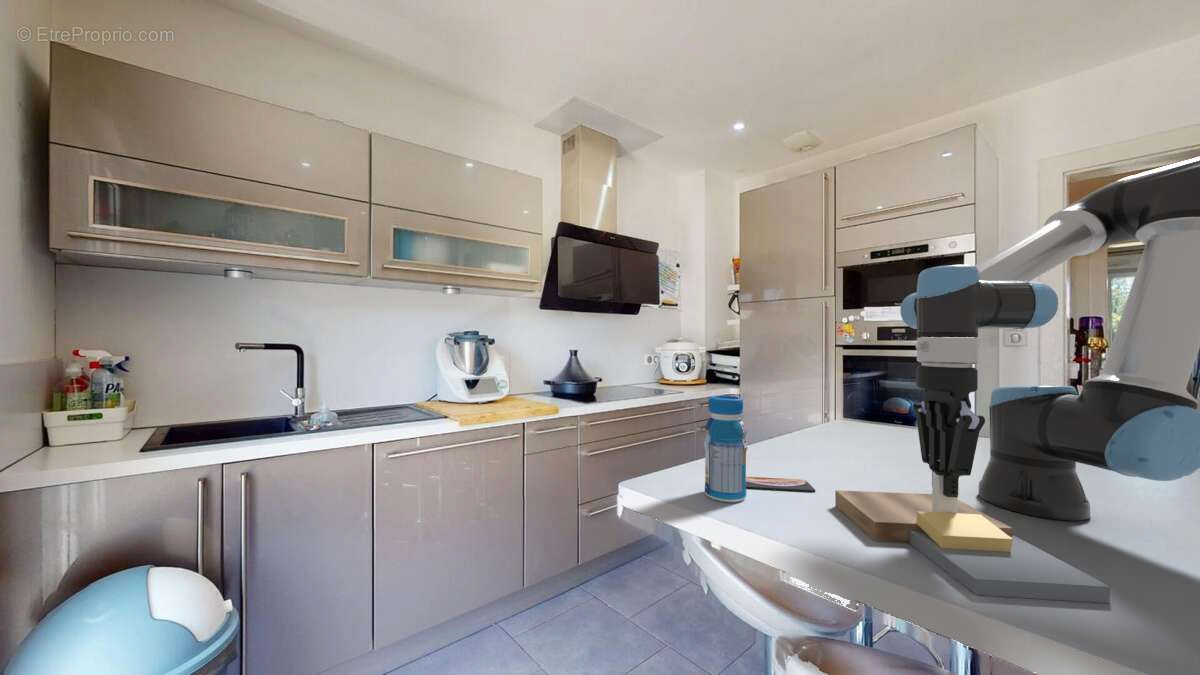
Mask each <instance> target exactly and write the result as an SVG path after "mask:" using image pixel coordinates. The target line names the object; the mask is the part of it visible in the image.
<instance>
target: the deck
mask: <svg viewBox="0 0 1200 675" xmlns="http://www.w3.org/2000/svg"><path fill="white" fill-rule="evenodd" d="M834 496H835V497H834V498H835V499H834V500H835V505H834V506H835V507H836V508H837V509H838V510H839V511H840V512H841V513H843V515H845V516H846V517H847V518H848V519H850V521H852V522H853V524H855V525H856V526H857V527H858V528H859V529H861V530H862V531H863V532H864V533H865V534H866V535H867V536H868V537H870V539H872V540H873V541H875V542H890V543H908V544H910V531H924V530H923V529H922V528H921V527H920V526H918V525H917V524H916V519H917V511H918V512H932V493H913V492H911V493H909V492H887V491H886V492H885V491H884V492H883V491H865V490H864V491H863V490H862V491H861V490H859V491H855V490H837V489H836V490H835V494H834ZM957 513H961V514H981V515H982V516H983V517H985V518H986V519H987V520H988V521H990V522H991V523H992V524H994V525H995V526H996V527H998V528H999V529H1000V530H1002V531H1003V532H1004V533H1006V534H1007V535H1010V536H1014V528H1013V527H1011V526H1010V525H1008V524H1006V523H1004V522H1002V521H1000V520H998V519H996V518H994V517H992V516H990V515H989V514H986V513H985V512H982V511H980V510H979V509H977V508H974V507H973V506H971V505H969V504H967V503H965V502H963V501H962V500H960V499H958V498H957Z"/></svg>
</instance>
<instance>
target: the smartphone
mask: <svg viewBox="0 0 1200 675" xmlns="http://www.w3.org/2000/svg"><path fill="white" fill-rule="evenodd" d="M746 490H756V491H757V490H759V491H777V492H792V493H813V494H814V493H816V489H815V487H814V486H812V484H810V483H809V482H808V481H807V480H805V479H801V478H800V479H797V478H781V477H779V478H777V477H757V476H746Z"/></svg>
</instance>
